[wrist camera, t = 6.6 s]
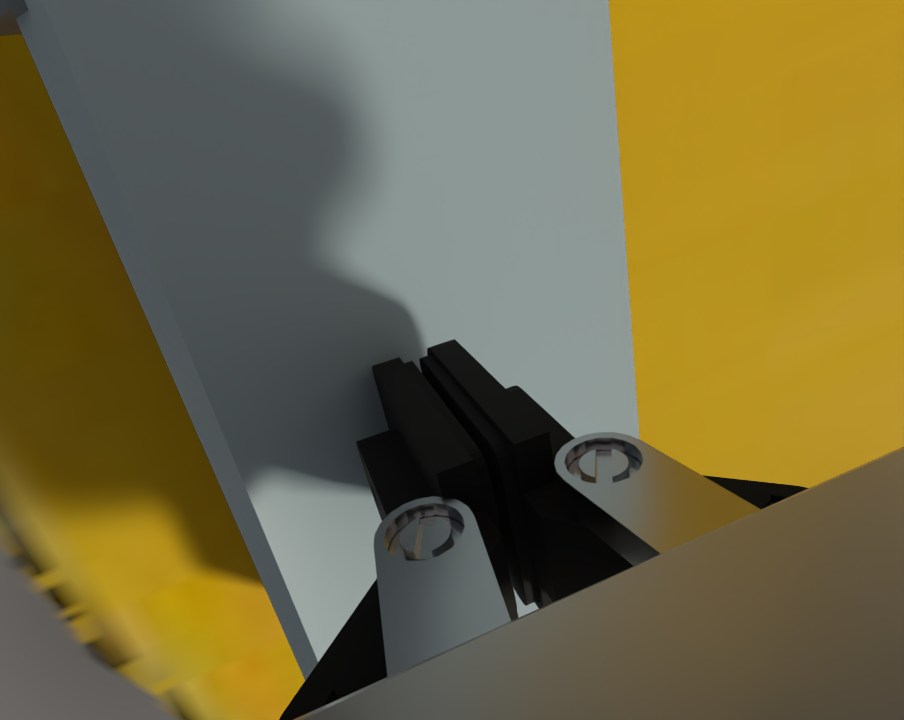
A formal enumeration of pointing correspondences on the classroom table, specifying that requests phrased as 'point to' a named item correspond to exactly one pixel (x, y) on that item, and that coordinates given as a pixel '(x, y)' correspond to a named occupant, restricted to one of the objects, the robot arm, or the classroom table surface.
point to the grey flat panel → (348, 232)
